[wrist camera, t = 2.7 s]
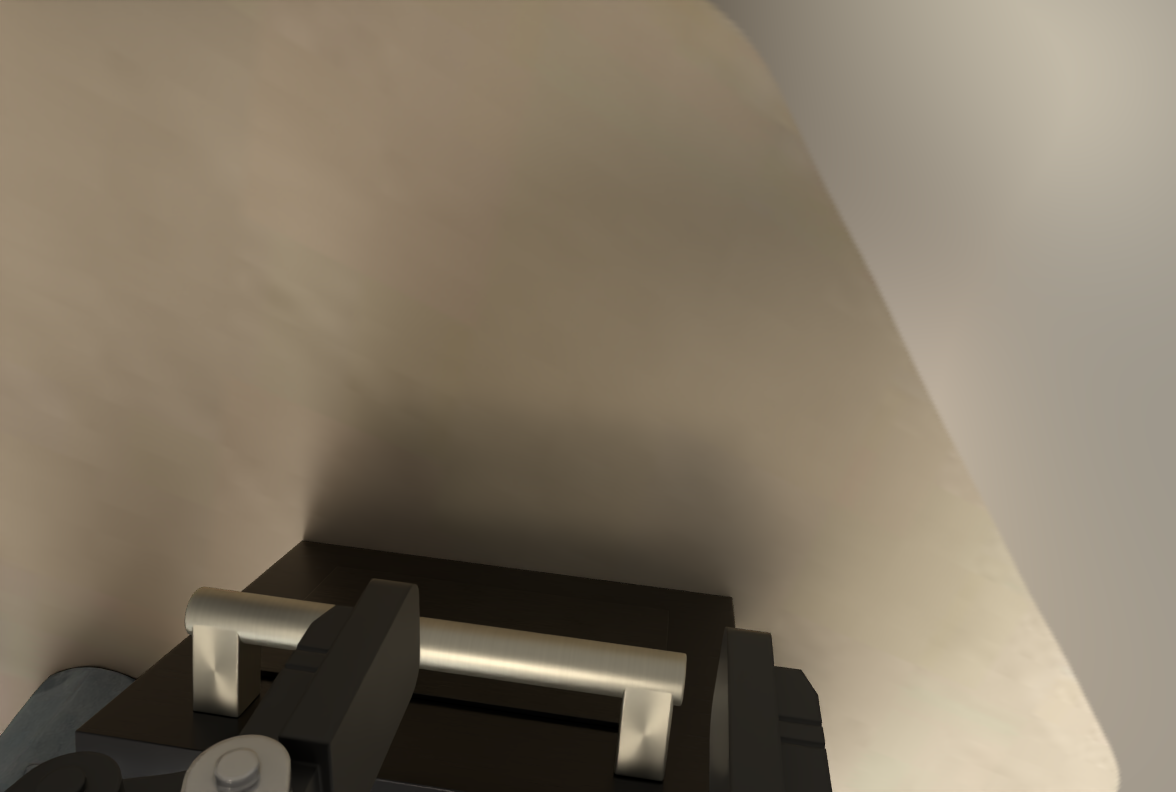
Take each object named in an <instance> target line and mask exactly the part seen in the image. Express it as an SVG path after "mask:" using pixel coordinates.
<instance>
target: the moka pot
mask: <svg viewBox="0 0 1176 792" xmlns="http://www.w3.org/2000/svg"><path fill="white" fill-rule="evenodd" d="M134 681H135V680H134V679H132V678H130V677H128V676H126V675H123V674H121V673H118V672H114V671H110V670H106V669H101V668H92V667H84V668H73V669H69V670H65V671H62V672H59V673H56V674H54V675H51V676H49V677H48V678H47V679H46V680H45V681H44V682H43V683H42V684H41V686H40V687H39V688H38V689H37V690H36V691H35V693H34V694H33V695H32V696H31V697H30V699H29V700H28V701H27V702H26V704H25V705H24V706H23V707H22V709H21V710H20V711H19V712H18V714H17V715H16V716H15V717H14V719H13V720H12V721H11V723H10V724H9V725H8V727H7V728H6V729H5V731H4V732H3V733H2V734H1V736H0V792H4V791H5V790H7V789H8V788H9V787H10V786H11V785H13V784H14V783H15V782H16V781H17V780H19V779H20V778H21V777H22V776H24V775H25V774H26V773H28V772H29V771H30V770H32V769H33V768H35V767H37V766H38V765H40V764H42V763H44V762H46V761H48V760H50V759H53V758H55V757H58V756H61V755H65V754H69V753H74V752H76V748H75V731H76V730H77V729H78V728H79V727H81V726H82V725H83V724H84V723H85V722H87V721H88V720H89V719H90V718H91V717H93V716H94V715H95V714H96V713H97V712H99V711H100V710H101V709H102V708H103V707H104V706H106V705H107V704H108V703H109V702H110V701H112V700H113V699H114V698H115V697H116V696H118V695H119V694H120V693H121V692H122V691H124V690H125V689H126V688H127V687H128V686H129V685H131V684H132V683H133V682H134Z"/></svg>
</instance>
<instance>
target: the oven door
mask: <svg viewBox="0 0 1176 792" xmlns="http://www.w3.org/2000/svg"><path fill="white" fill-rule="evenodd" d="M374 578H375V579H383V580H390V581H397V582H405V583H412V584H416V585H417V586H418V589H419V614H420V665H419V672H418V677H417V682H416V685H415V689H414V692H413V694H412V697H411V699H410V701H409V704H408V706H407V708H406V711H405V713H404V715H403V718H402V720H401V722H400V724H399V727H398V729H397V731H396V734H395V736H394V738H393V741H392V743H391V745H390V747H389V750H388V752H387V754H386V757H385V759H384V761H383V764H382V766H381V768H380V770H379V773H378V775H377V777H376V780H375V782H374V784H373V787H372V789H371V791H370V792H709V762H710V723H711V712H712V703H713V696H714V690H715V683H716V677H717V671H718V665H719V659H720V652H721V646H722V640H723V634H724V630H725V627H730V628H735V619H734V610H733V600H732V597H726V596H718V595H710V594H703V593H695V592H688V591H680V590H673V589H665V588H657V587H650V586H642V585H635V584H627V583H620V582H612V581H604V580H597V579H589V578H582V577H574V576H567V575H559V574H552V573H544V572H536V571H529V570H521V569H514V568H506V567H499V566H491V565H483V564H476V563H468V562H461V561H453V560H446V559H438V558H430V557H423V556H415V555H408V554H400V553H393V552H385V551H377V550H370V549H362V548H355V547H347V546H340V545H332V544H324V543H317V542H309V541H301V542H300V543H299V544H297V545H296V546H295V547H294V548H293V549H292V550H290V551H289V552H288V553H287V554H286V555H284V556H283V557H282V558H281V559H280V560H278V561H277V562H276V563H275V564H274V565H272V566H271V567H270V568H269V569H268V570H267V571H265V572H264V573H263V574H262V575H261V576H259V577H258V578H257V579H256V580H255V581H253V582H252V583H251V584H250V585H249V586H247V587H246V588H245V589H244V590H243V591H241V592H238V591H231V590H224V589H217V588H209V587H201V588H199V589H198V590H196V591H195V592H194V594H193V595H192V597H191V599H190V601H189V603H188V606H187V609H186V614H185V628H186V631H187V632H188V634H190V635H189V636H188V637H187V638H185V639H184V640H183V641H182V642H181V643H180V644H178V645H177V646H176V647H175V648H174V649H172V650H171V651H170V652H169V653H168V654H166V655H165V656H164V657H163V658H162V659H160V660H159V661H158V662H157V663H156V664H155V665H153V666H152V667H151V668H150V669H149V670H147V671H146V672H145V673H144V674H143V675H141V676H140V677H139V678H138V679H137V680H135V681H134V682H133V683H132V684H131V685H129V686H128V687H127V688H126V689H125V690H124V691H122V692H121V693H120V694H119V695H118V696H116V697H115V698H114V699H113V700H112V701H110V702H109V703H108V704H107V705H106V706H104V707H103V708H102V709H101V710H100V711H99V712H97V713H96V714H95V715H94V716H93V717H91V718H90V719H89V720H88V721H87V722H85V723H84V724H83V725H82V726H81V727H79V728H78V729H77V730H76V731H75V748H76V752H86V751H90V752H98V753H102V754H105V755H107V756H109V757H111V758H112V759H113V760H115V761H116V762H117V764H118V765H119V767H120V770H121V774H122V779H128V778H137V777H145V776H154V775H162V774H170V773H176V772H181V771H185V770H188V768H189V766H190V765H191V764H192V762H193V761H194V760H195V759H196V758H197V757H198V756H199V755H200V754H201V753H202V752H204V751H205V750H206V749H208V748H209V747H211V746H213V745H214V744H216V743H218V742H221V741H223V740H225V739H228V738H232V737H235V736H239V734H240V733H241V731H242V729H243V728H244V726H245V725H246V723H247V722H248V720H249V719H250V717H251V716H252V714H253V712H254V711H255V709H256V708H257V706H258V705H259V703H260V702H261V700H262V699H263V697H264V695H265V694H266V692H267V691H268V689H269V688H270V686H271V685H272V683H273V682H274V680H275V678H276V677H277V675H278V674H279V672H280V671H281V669H282V668H284V667H285V663H286V661H287V660H288V658H289V657H290V655H291V654H292V652H293V651H294V650H296V649H297V644H298V643H299V641H300V640H301V638H302V637H303V635H304V634H305V632H306V630H307V629H308V627H309V626H310V624H311V623H312V622H313V621H314V620H316V619H317V618H319V617H320V616H321V615H323V614H324V613H325V612H327V611H328V610H329V609H331V608H332V607H334V606H335V605H336V604H337V605H344V606H352V607H355V605H356V603H357V602H358V600H359V598H360V597H361V595H362V593H363V591H364V590H365V588H366V586H367V585H368V583H369V582H370V581H371V580H372V579H374Z"/></svg>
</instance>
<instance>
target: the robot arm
mask: <svg viewBox="0 0 1176 792" xmlns="http://www.w3.org/2000/svg"><path fill="white" fill-rule="evenodd" d="M419 665H420V614H419V589H418V586H417V585H416V584H412V583H405V582H397V581H390V580H383V579H375V578H374V579H372V580H371V581H370V582H369V583H368V585H367V586H366V588H365V590H364V591H363V593H362V595H361V597H360V598H359V600H358V602H357V603H356V605H355V607H352V606H344V605H337V604H336V605H335V606H334V607H332V608H331V609H329V610H328V611H327V612H325V613H324V614H323V615H321V616H320V617H319V618H317V619H316V620H314V621H313V622H312V623H311V624H310V626H309V627H308V629H307V630H306V632H305V634H304V635H303V637H302V638H301V640H300V641H299V643H298V644H297V649H296V650H294V651H293V652H292V654H291V655H290V657H289V658H288V660H287V661H286V663H285V667H284V668H282V669H281V671H280V672H279V674H278V675H277V677H276V678H275V680H274V682H273V683H272V685H271V686H270V688H269V689H268V691H267V692H266V694H265V695H264V697H263V699H262V700H261V702H260V703H259V705H258V706H257V708H256V709H255V711H254V712H253V714H252V716H251V717H250V719H249V720H248V722H247V723H246V725H245V726H244V728H243V729H242V731H241V733H240V734H239V736H235V737H232V738H228V739H225V740H223V741H221V742H218V743H216V744H214V745H213V746H211V747H209V748H208V749H206V750H205V751H204V752H202V753H201V754H200V755H199V756H198V757H197V758H196V759H195V760H194V761H193V762H192V764H191V765H190V766H189V768H188V770H185V771H181V772H176V773H170V774H162V775H154V776H145V777H137V778H128V779H122V774H121V770H120V767H119V765H118V764H117V762H116V761H115V760H113V759H112V758H111V757H109V756H107V755H105V754H102V753H98V752H90V751H86V752H74V753H69V754H65V755H61V756H58V757H55V758H53V759H50V760H48V761H46V762H44V763H42V764H40V765H38V766H37V767H35V768H33V769H32V770H30V771H29V772H28V773H26V774H25V775H24V776H22V777H21V778H20V779H19V780H17V781H16V782H15V783H14V784H13V785H11V786H10V787H9V788H8V789H7V790H5V791H4V792H370V791H371V789H372V787H373V784H374V782H375V780H376V777H377V775H378V773H379V770H380V768H381V766H382V764H383V761H384V759H385V757H386V754H387V752H388V750H389V747H390V745H391V743H392V741H393V738H394V736H395V734H396V731H397V729H398V727H399V724H400V722H401V720H402V718H403V715H404V713H405V711H406V708H407V706H408V704H409V701H410V699H411V697H412V694H413V692H414V689H415V685H416V682H417V677H418V672H419ZM709 792H832V787H831V780H830V773H829V767H828V760H827V753H826V749H825V739H824V733H823V727H822V719H821V712H820V705H819V699H818V694H817V693H816V691H815V690H814V688H813V687H812V685H811V684H810V682H809V681H808V679H807V678H806V676H805V675H804V673H803V672H802V670H799V669H791V668H784V667H777V666H774V659H773V648H772V637H771V634H770V633H767V632H760V631H753V630H745V629H738V628H730V627H725V630H724V634H723V640H722V646H721V652H720V659H719V665H718V671H717V677H716V683H715V690H714V696H713V703H712V712H711V723H710V762H709Z"/></svg>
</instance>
